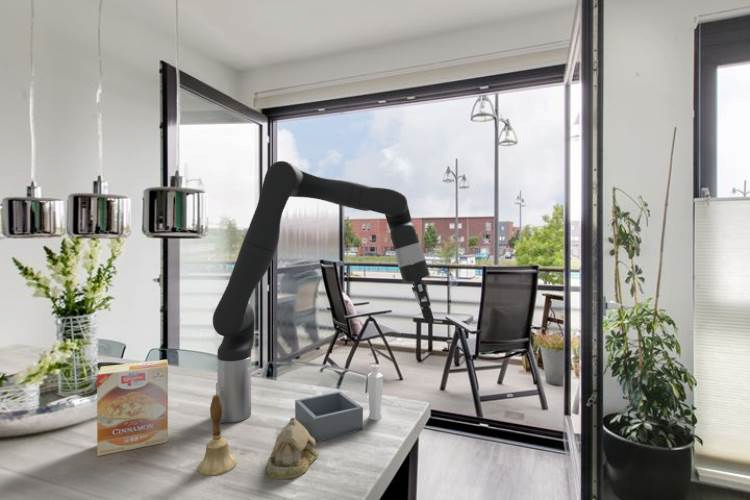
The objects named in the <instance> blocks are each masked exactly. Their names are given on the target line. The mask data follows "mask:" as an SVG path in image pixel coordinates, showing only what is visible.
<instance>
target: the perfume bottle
mask: <svg viewBox="0 0 750 500" xmlns="http://www.w3.org/2000/svg"><path fill="white" fill-rule="evenodd" d="M379 367H380V365H378V364H372V365H371V372H369V373H368V375H367V391H368V404H369V405H368V407H369V410H368V411H369V414H368V419H369V420H372V421H379V420H380V419H382V413H381V410H382V398H383V397H382V395H383V386H384V384H383V383H384V375H383V374H382V373H381V372H379V370H380V368H379Z"/></svg>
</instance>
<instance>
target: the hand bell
mask: <svg viewBox="0 0 750 500" xmlns="http://www.w3.org/2000/svg"><path fill="white" fill-rule="evenodd" d="M209 411H210V412H209V413H210V419H211V422H212V438H211V440H209V441H208V442H207V443H206V447H205V454H204V457H203V459H202V460H201V461H200V462H199V464H198V466H197V472H198V473H199V475H202V476H208V477H212V476H214V477H215V476H219V475H223V474H225V473H227V472H229V471H231V470H232V469H233V470H234V468H235V467H236V465H237V462H238V461H237V458H236V457H235V456H234V455H232V454H231V452H230V448H229V443H228V440H227V439H226V438H224V437H222V433H221V430H222V429H221V423H220V421H221V417H222V403H221V400H220V397H219V395H216V394H214V395H212V399H211V402H210V408H209Z"/></svg>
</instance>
